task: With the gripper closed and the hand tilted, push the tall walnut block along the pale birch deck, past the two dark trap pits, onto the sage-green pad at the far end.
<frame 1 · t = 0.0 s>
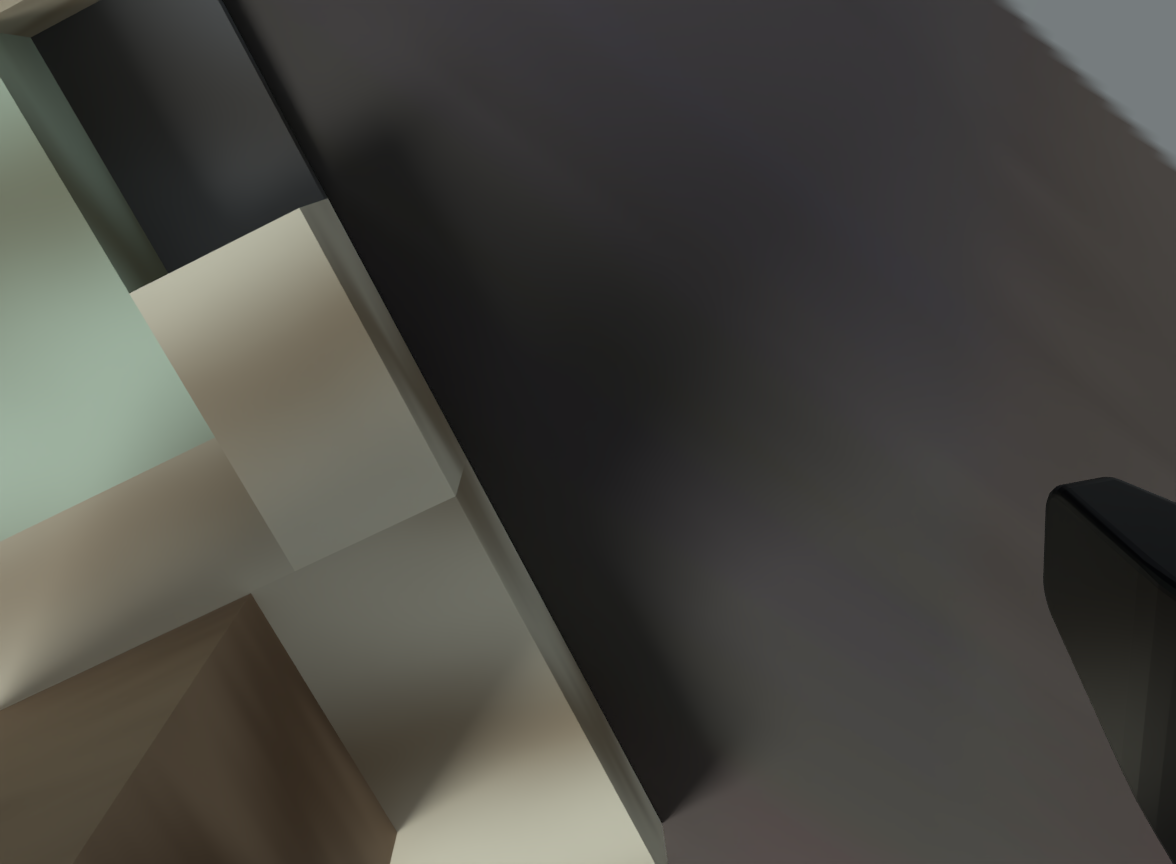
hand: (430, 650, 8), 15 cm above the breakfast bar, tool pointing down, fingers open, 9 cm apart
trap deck: (136, 563, 24), on the breakfast bar
walnut block: (197, 775, 23), point 2 cm above the breakfast bar, touching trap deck
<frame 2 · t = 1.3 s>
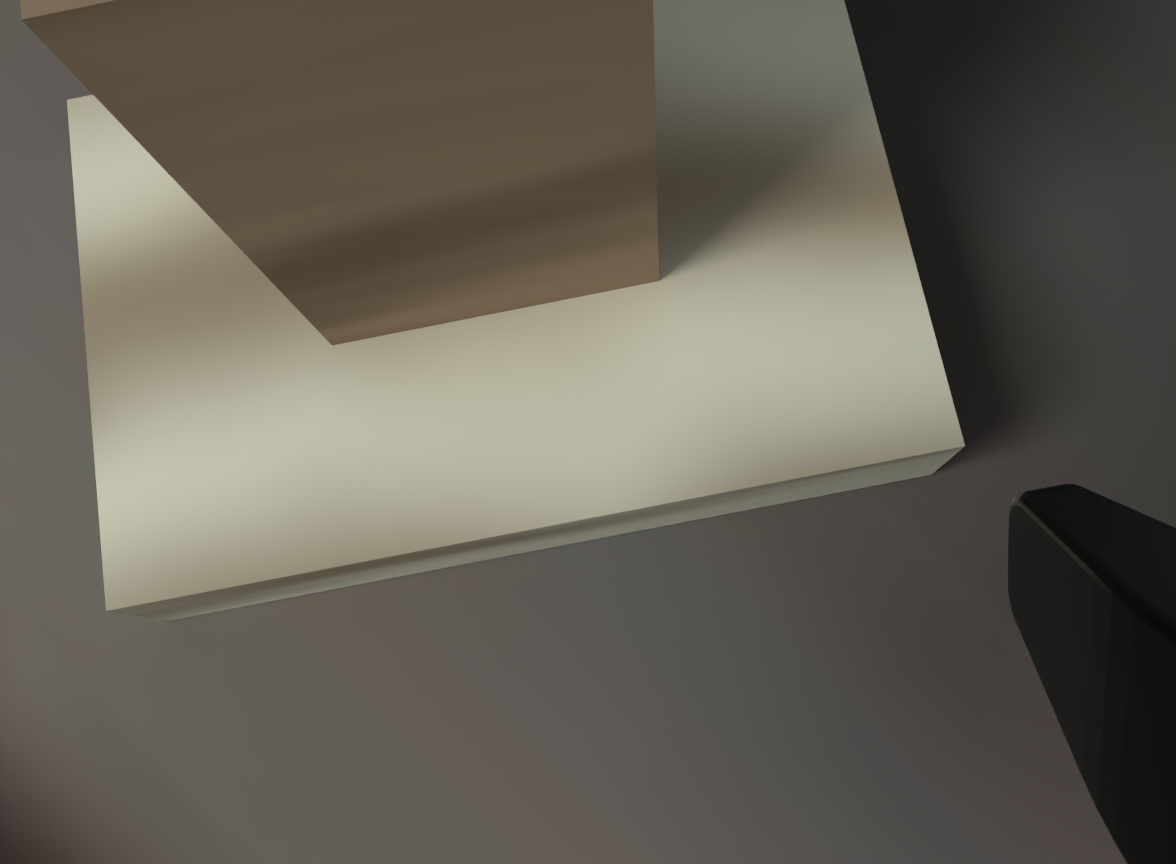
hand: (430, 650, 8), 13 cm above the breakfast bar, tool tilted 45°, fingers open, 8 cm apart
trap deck: (460, 50, 24), on the breakfast bar
walnut block: (469, 163, 21), point 2 cm above the breakfast bar, touching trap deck
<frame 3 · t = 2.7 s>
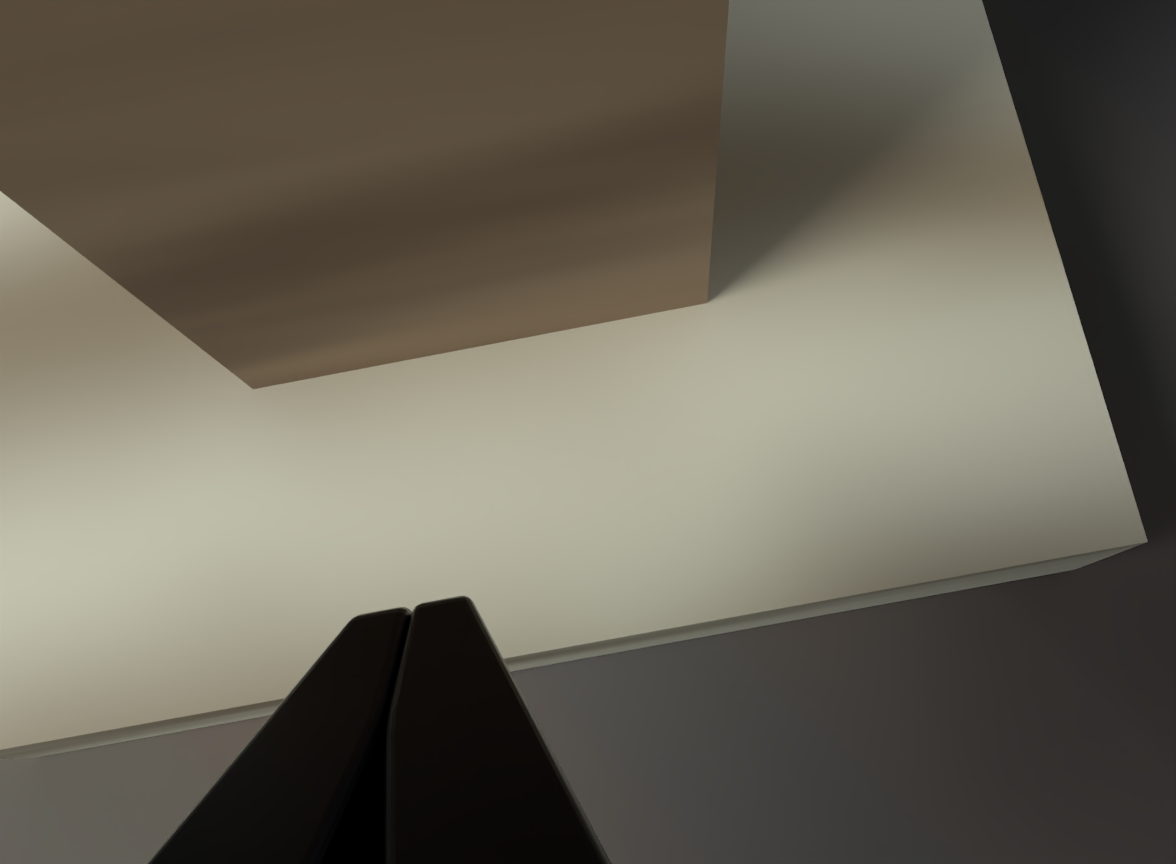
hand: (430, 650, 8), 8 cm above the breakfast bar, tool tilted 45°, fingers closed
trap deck: (443, 3, 19), on the breakfast bar
walnut block: (446, 141, 15), point 2 cm above the breakfast bar, touching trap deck
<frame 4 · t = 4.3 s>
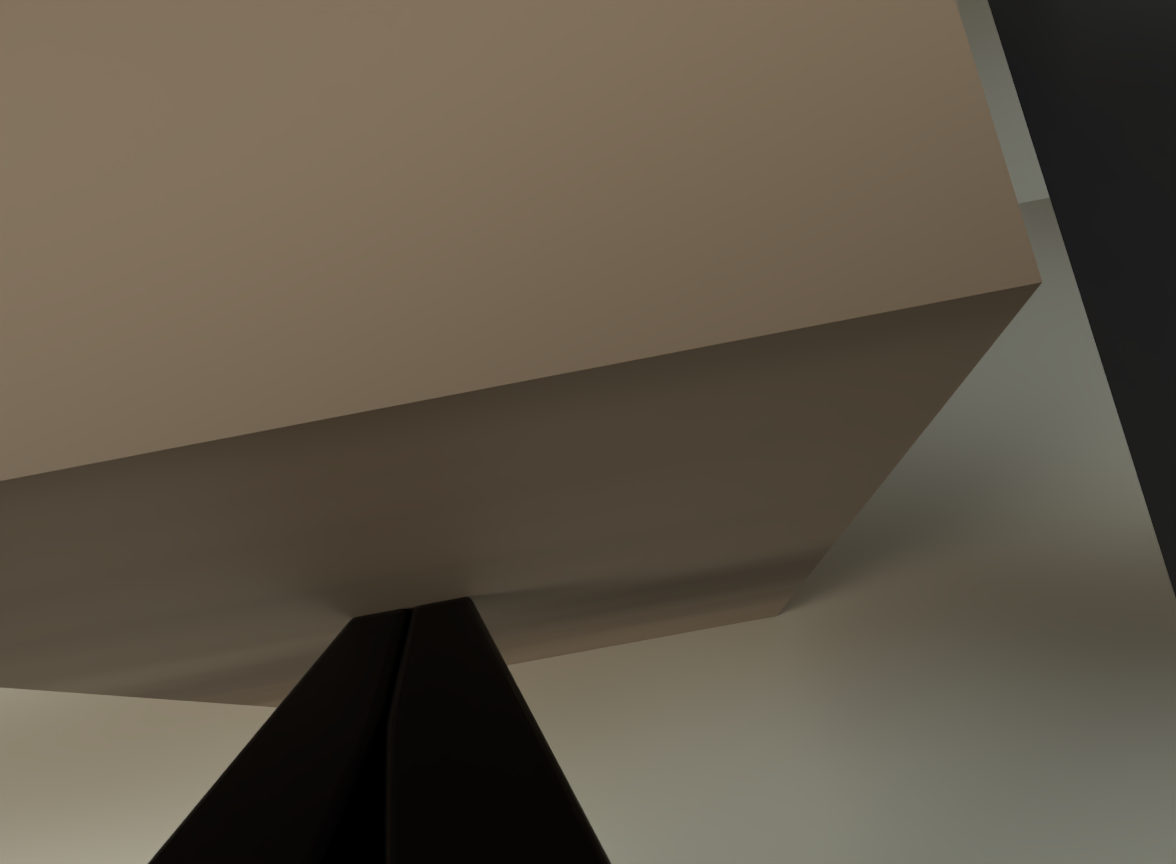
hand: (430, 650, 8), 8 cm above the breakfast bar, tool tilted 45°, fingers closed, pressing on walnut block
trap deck: (489, 308, 17), on the breakfast bar
walnut block: (487, 421, 14), point 3 cm above the breakfast bar, touching gripper, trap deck
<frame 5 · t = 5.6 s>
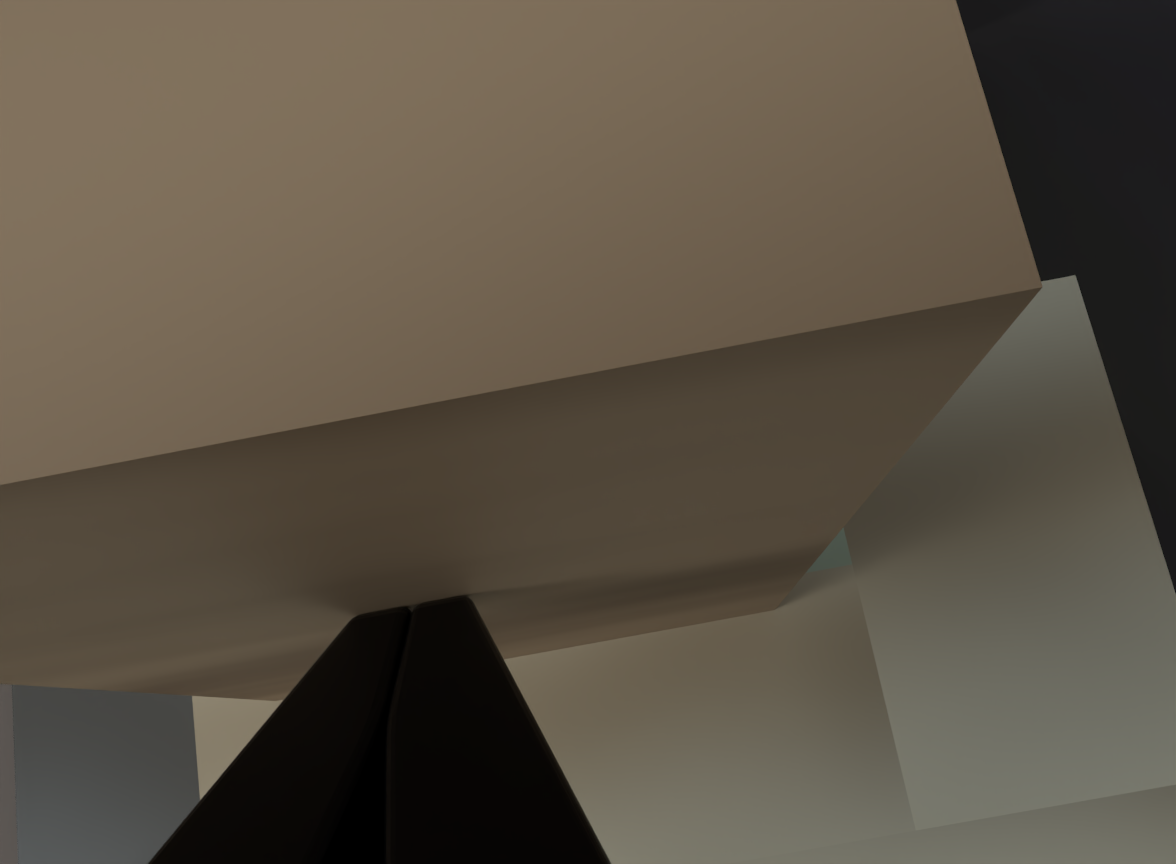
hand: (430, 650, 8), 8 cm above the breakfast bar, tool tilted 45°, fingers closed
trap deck: (567, 789, 15), on the breakfast bar
walnut block: (486, 415, 14), point 3 cm above the breakfast bar, touching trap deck
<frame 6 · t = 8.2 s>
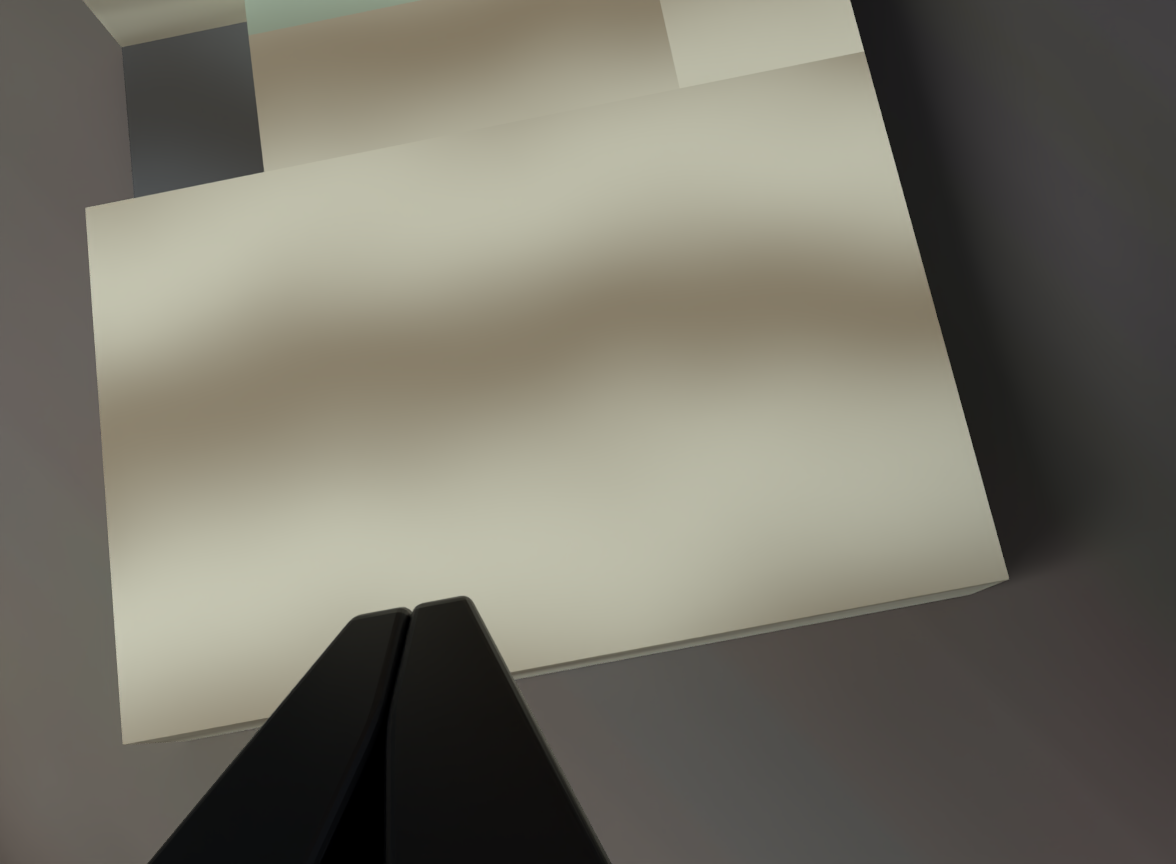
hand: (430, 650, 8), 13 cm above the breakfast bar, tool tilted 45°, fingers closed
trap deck: (484, 148, 24), on the breakfast bar
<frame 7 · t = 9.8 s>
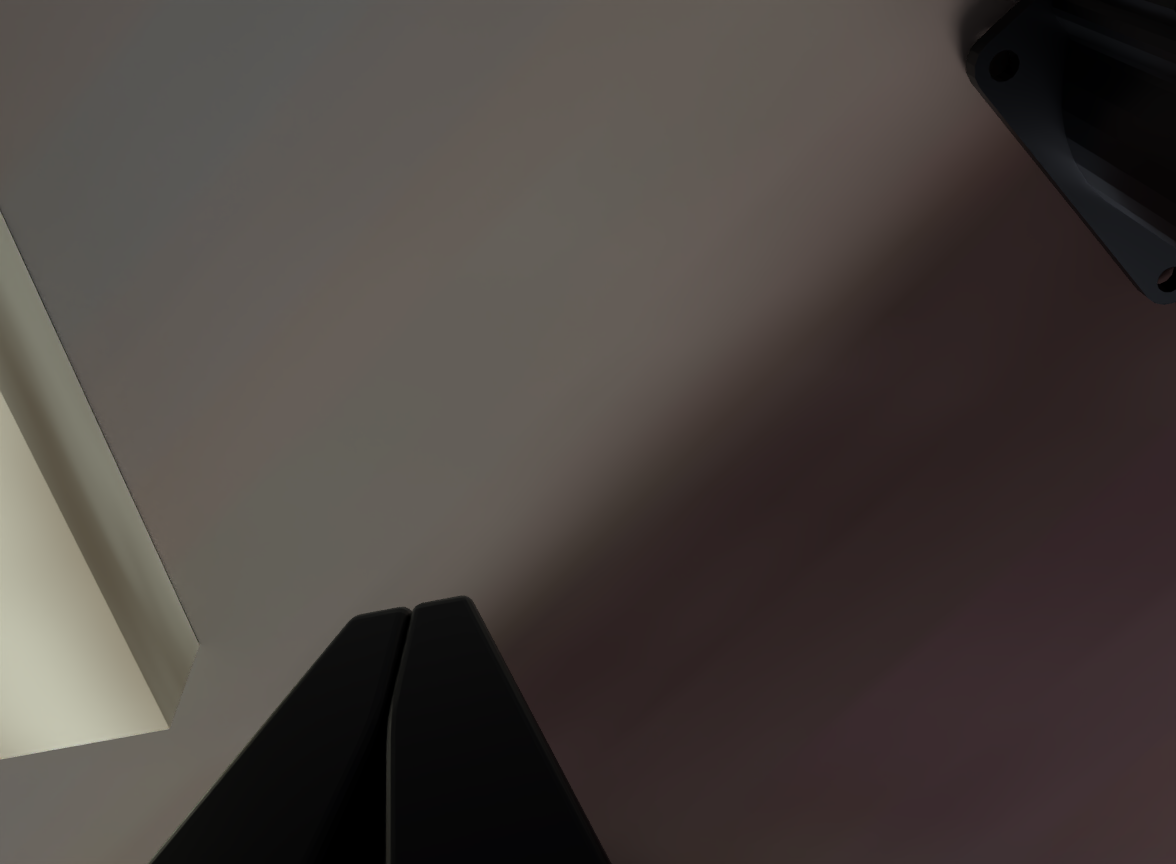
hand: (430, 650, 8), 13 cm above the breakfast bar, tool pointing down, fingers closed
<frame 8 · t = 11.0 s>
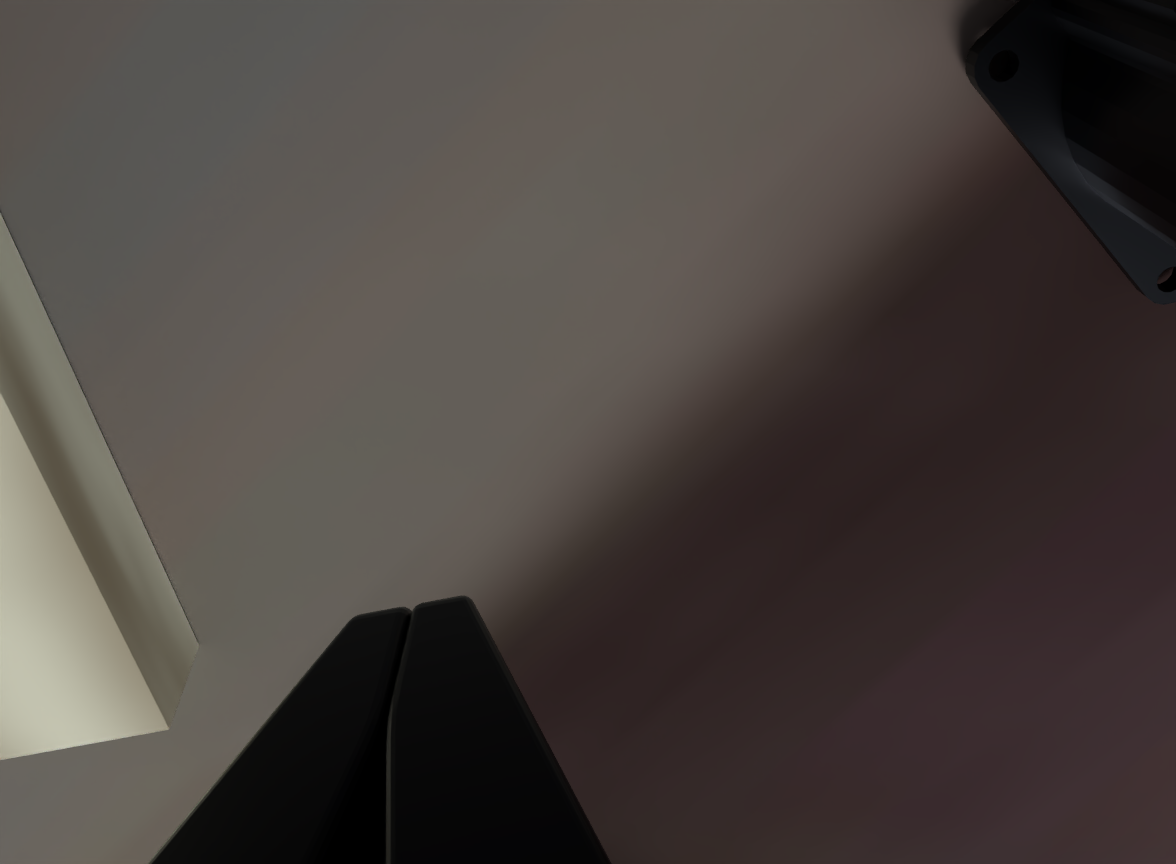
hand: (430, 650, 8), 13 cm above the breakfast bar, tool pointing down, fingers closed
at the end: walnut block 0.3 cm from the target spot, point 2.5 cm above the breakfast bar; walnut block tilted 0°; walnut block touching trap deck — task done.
